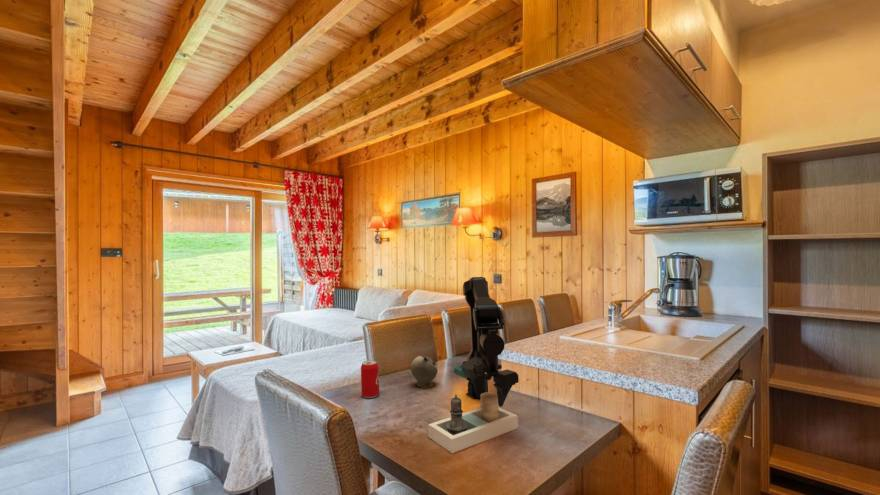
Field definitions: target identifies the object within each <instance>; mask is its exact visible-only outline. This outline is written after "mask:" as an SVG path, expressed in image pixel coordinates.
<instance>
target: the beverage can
mask: <svg viewBox="0 0 880 495" xmlns="http://www.w3.org/2000/svg"><path fill="white" fill-rule="evenodd" d="M379 370H380V369H379V364H378V362H377V361H376V360H372V359H371V360H365V361H363V362H362V363H361V365H360V384H361V385H360V386H361V387H360V388H361V396H362V397H363V398H365V399H373V398H376V397H378V396H379V395H380V378H379V376H380V374H379Z"/></svg>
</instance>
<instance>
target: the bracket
mask: <svg viewBox="0 0 880 495" xmlns="http://www.w3.org/2000/svg"><path fill="white" fill-rule="evenodd" d="M461 365H462V364H458V365H455V366H454V367H453V368H454V370H453V372H454V374H455V375H457V376H460V377H461V378H464V379H466V377H465V376H464V374H463V371H462V368H461ZM490 380H491V379H488V381H490Z"/></svg>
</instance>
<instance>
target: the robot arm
mask: <svg viewBox="0 0 880 495" xmlns="http://www.w3.org/2000/svg"><path fill="white" fill-rule="evenodd" d="M462 295H463V296H464V300H465V302H466V304H467V305H468V307H469V319H470V320H469V321H470V322H469V323H470V324H469V325H470V341H471V342H470V344H471V347H470V348H471V349H470V351H469V353H468V355H467V360H465V361H463V362H462V364H460V365H461V368H462V371H463V374H464V376H465V377H466V378H465V379H466V380H467V381H468V382H467V392H466V393H465V395H466V396H468V397H470V398H472V399H474V400H477V401H478V400H481V396H480V395H481V394H482V393H485V392H489V382H488V381H489V380H488V379H490V380H491V379H493V384H492V385H493V387H494V388H495V389H496V394H497V396H498V407H499V408H502V407H503V406H504V403H505V401H506V400H507V397H508V395H509V393H510V390H511V388H512V387H513V386H514V385H516V384H518V383H520V382H519V381H520V380H519V379H520V378H519V374H518V373H517V372H516V371H514V370H510V369H507V368H506V369H503V370H501V369H502V368H503V367H502V364H499V356H500V355H501V354H502V353H503V351H504V350H505V341H504V339H503V337H501V335H500V334H499V330H504V325H505V320H504V315H503V311H502V309H501V307H500V306H498V305H499V304H498V303H497V301H496V300H495V299H492V298H491V297H490V294H489V283H488V281H487V279H486V277H483V276H473V277H470V278H469V280H466V281H464V282H463V283H462ZM499 370H500V371H499Z"/></svg>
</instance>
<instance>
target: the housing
mask: <svg viewBox="0 0 880 495" xmlns="http://www.w3.org/2000/svg"><path fill="white" fill-rule="evenodd" d="M498 410H499V419H498V420H495V421H493V422H490V423H488V422H486V421H484V420H482V419H481V407H478V408H475V409H472V410H468V411H465V412H463V413H462V420H463V422H465V423H467V425H468V427H467V430H466V431H464V432H461V433H459V434H456V435H452V434H450V433H449V432H448V430H447V428H446V425H447V423H449V422H451V416H450V417H447V418H444V419H441V420H437V421H435V422H432V423H429V424H428V426H427V428H428V438H429V439H430V440H432V441H433V442H435V443H437V444H438V445H439V446H441V447H443V448H444V449H445V450H446V451H449V453H452V454H454V453H456V452H460V451H462V450H465V449H467V448H470V447H473V446H475V445H478V444H479V443H483V442H485V441H488V440H491V439H493V438H497V437H498V436H499V437H500V436H501V435H504V434H506V433H509V432H511V431H515V430H517V429H518V428H519V418H518V416H519V415H517V414H514V413H513V412H510V411H508V410H506V409H504V408H502V407H499V406H498Z"/></svg>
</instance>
